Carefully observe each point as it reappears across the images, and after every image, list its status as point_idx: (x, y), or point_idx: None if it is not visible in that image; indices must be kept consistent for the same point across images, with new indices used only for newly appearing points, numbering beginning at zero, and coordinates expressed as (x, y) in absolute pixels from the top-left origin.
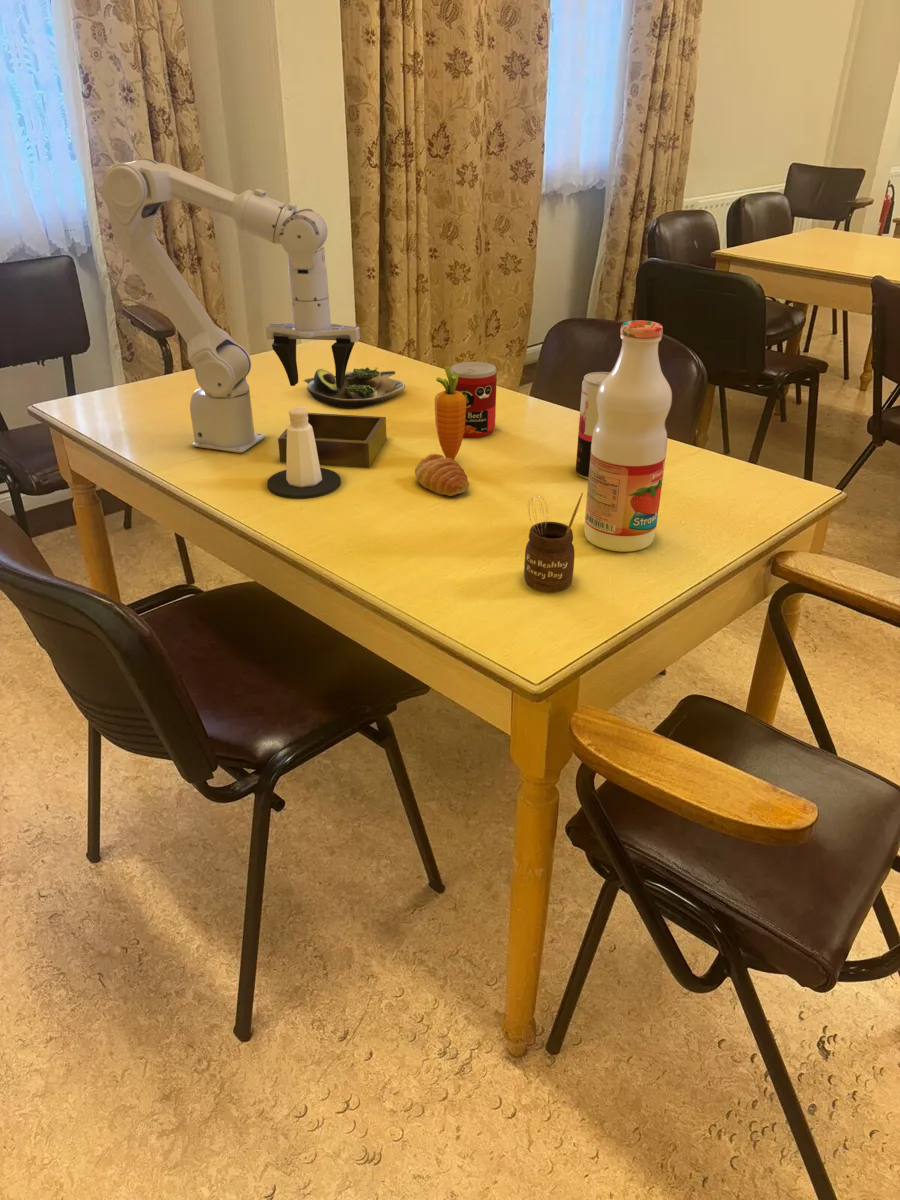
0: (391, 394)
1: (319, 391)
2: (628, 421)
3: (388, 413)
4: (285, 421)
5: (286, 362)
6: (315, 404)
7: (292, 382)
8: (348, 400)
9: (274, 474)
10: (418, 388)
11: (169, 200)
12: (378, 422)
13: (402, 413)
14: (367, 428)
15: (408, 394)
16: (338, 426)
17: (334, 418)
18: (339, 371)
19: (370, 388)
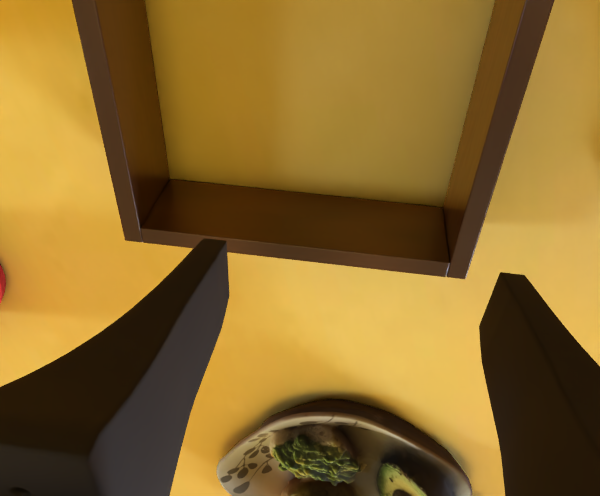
0: (236, 445)
1: (432, 464)
2: None
3: (223, 367)
4: None
5: (584, 388)
6: (441, 422)
7: (515, 284)
8: (337, 414)
9: None
10: (202, 479)
11: None
12: (126, 185)
13: None
14: (203, 208)
15: (213, 456)
16: (314, 221)
17: (325, 241)
18: (157, 297)
19: (285, 461)
